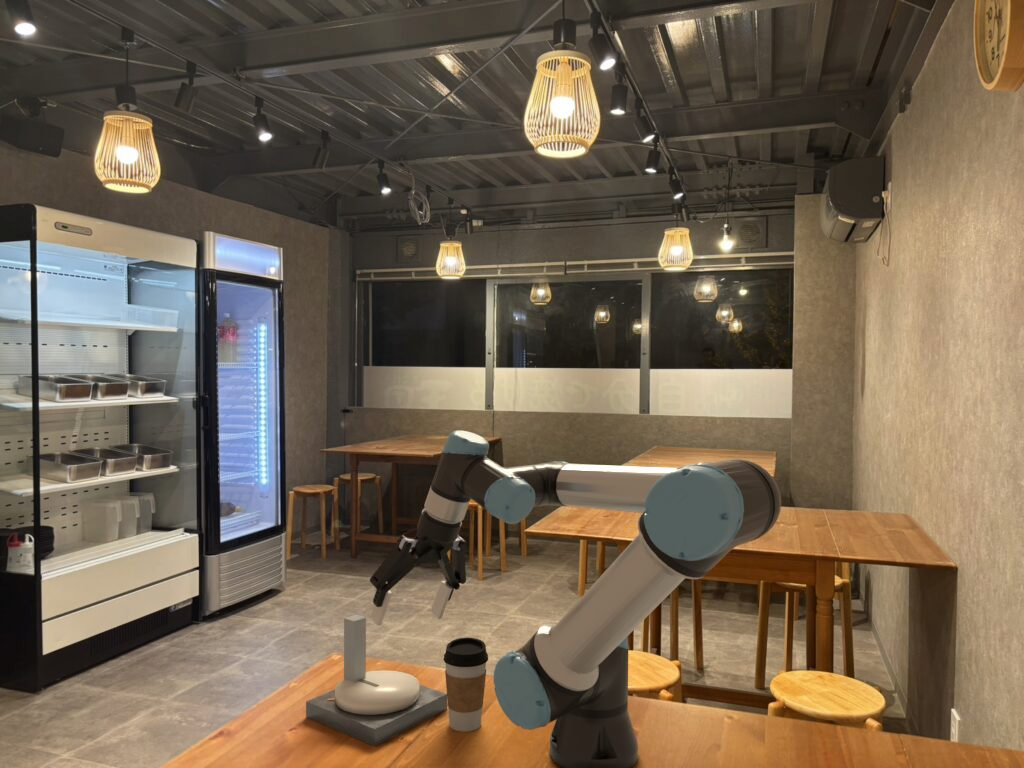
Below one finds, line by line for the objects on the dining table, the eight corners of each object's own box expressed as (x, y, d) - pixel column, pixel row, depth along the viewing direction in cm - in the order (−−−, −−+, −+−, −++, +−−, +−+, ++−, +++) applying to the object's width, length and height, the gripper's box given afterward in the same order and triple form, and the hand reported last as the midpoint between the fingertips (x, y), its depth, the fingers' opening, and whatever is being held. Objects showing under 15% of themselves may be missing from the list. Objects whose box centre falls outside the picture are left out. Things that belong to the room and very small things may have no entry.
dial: (436, 693, 149) (436, 621, 149) (375, 722, 136) (375, 644, 136) (379, 674, 158) (379, 606, 158) (317, 699, 146) (317, 626, 146)
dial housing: (447, 709, 149) (447, 693, 149) (374, 746, 134) (374, 728, 134) (379, 685, 161) (379, 670, 160) (306, 717, 145) (306, 700, 145)
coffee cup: (490, 715, 146) (491, 638, 146) (484, 736, 138) (485, 653, 138) (447, 713, 147) (448, 635, 147) (438, 733, 139) (439, 651, 139)
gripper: (482, 505, 148) (448, 601, 151) (374, 503, 131) (338, 611, 134) (506, 524, 142) (469, 623, 146) (396, 524, 125) (358, 636, 129)
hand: (406, 618), depth 140 cm, fingers open, 13 cm apart
